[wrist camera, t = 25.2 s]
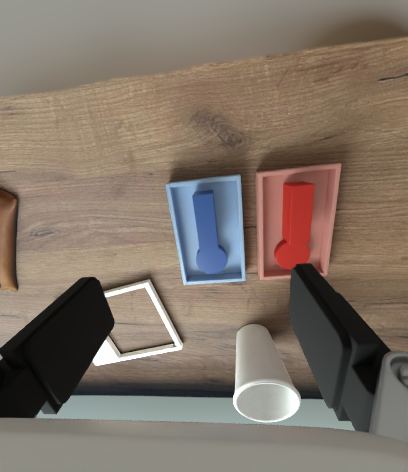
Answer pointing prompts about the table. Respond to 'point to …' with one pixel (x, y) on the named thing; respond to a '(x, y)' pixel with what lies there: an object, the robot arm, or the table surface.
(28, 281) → the table surface
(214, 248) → the blue spoon
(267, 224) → the rose tray
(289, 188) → the red spoon
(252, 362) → the dixie cup
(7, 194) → the sunglasses case
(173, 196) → the blue tray
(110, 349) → the photo frame
